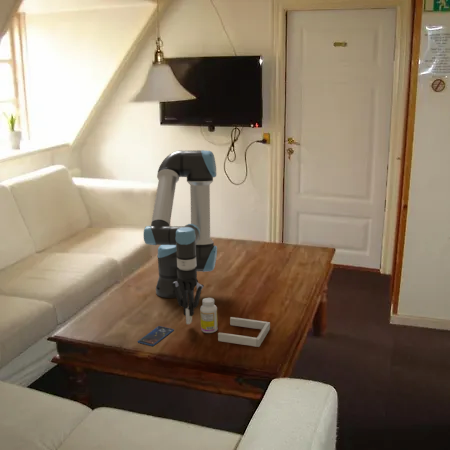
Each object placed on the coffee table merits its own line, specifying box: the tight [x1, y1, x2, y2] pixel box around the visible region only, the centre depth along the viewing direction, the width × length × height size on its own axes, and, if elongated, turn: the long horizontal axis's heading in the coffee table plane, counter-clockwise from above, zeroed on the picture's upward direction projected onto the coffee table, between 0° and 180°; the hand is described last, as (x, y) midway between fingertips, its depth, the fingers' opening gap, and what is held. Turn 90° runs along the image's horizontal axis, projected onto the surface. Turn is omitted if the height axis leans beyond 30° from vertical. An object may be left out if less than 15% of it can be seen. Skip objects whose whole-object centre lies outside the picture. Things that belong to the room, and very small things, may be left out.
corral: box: [217, 316, 271, 348], centre depth 225 cm, size 16×15×3 cm
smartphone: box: [136, 325, 175, 347], centre depth 226 cm, size 8×1×15 cm
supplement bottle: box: [199, 297, 219, 334], centre depth 228 cm, size 7×7×13 cm
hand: (189, 322), depth 232 cm, fingers closed
